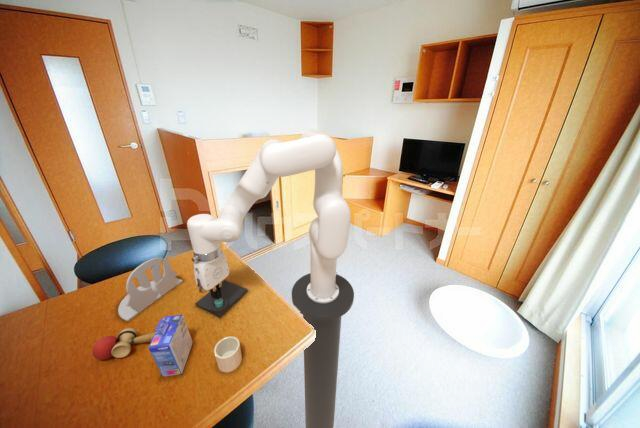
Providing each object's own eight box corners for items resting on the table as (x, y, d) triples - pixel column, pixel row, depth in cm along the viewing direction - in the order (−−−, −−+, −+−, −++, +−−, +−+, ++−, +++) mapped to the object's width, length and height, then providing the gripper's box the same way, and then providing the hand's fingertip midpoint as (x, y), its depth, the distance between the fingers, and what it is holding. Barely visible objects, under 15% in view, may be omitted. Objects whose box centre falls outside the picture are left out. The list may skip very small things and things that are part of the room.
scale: (224, 282, 98) (223, 276, 97) (248, 291, 93) (247, 286, 92) (195, 306, 86) (193, 300, 85) (220, 319, 81) (219, 312, 80)
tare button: (219, 300, 85) (218, 297, 85) (225, 303, 84) (224, 299, 84) (213, 306, 83) (212, 302, 82) (219, 308, 82) (218, 305, 81)
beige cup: (229, 346, 72) (226, 332, 70) (246, 355, 70) (244, 341, 67) (212, 366, 67) (208, 352, 64) (230, 376, 64) (227, 362, 62)
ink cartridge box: (174, 344, 73) (161, 309, 67) (193, 341, 74) (182, 307, 67) (160, 377, 64) (144, 341, 58) (182, 374, 65) (168, 338, 59)
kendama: (170, 328, 79) (100, 342, 72) (168, 316, 76) (94, 330, 68) (168, 351, 73) (91, 369, 66) (165, 339, 70) (84, 357, 62)
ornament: (128, 321, 80) (110, 282, 73) (103, 310, 84) (84, 272, 77) (183, 280, 99) (174, 246, 91) (161, 272, 103) (150, 239, 96)
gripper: (195, 269, 67) (207, 316, 75) (234, 244, 79) (240, 286, 87) (177, 262, 70) (190, 308, 77) (217, 238, 82) (225, 280, 90)
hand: (217, 296), depth 82 cm, fingers closed
